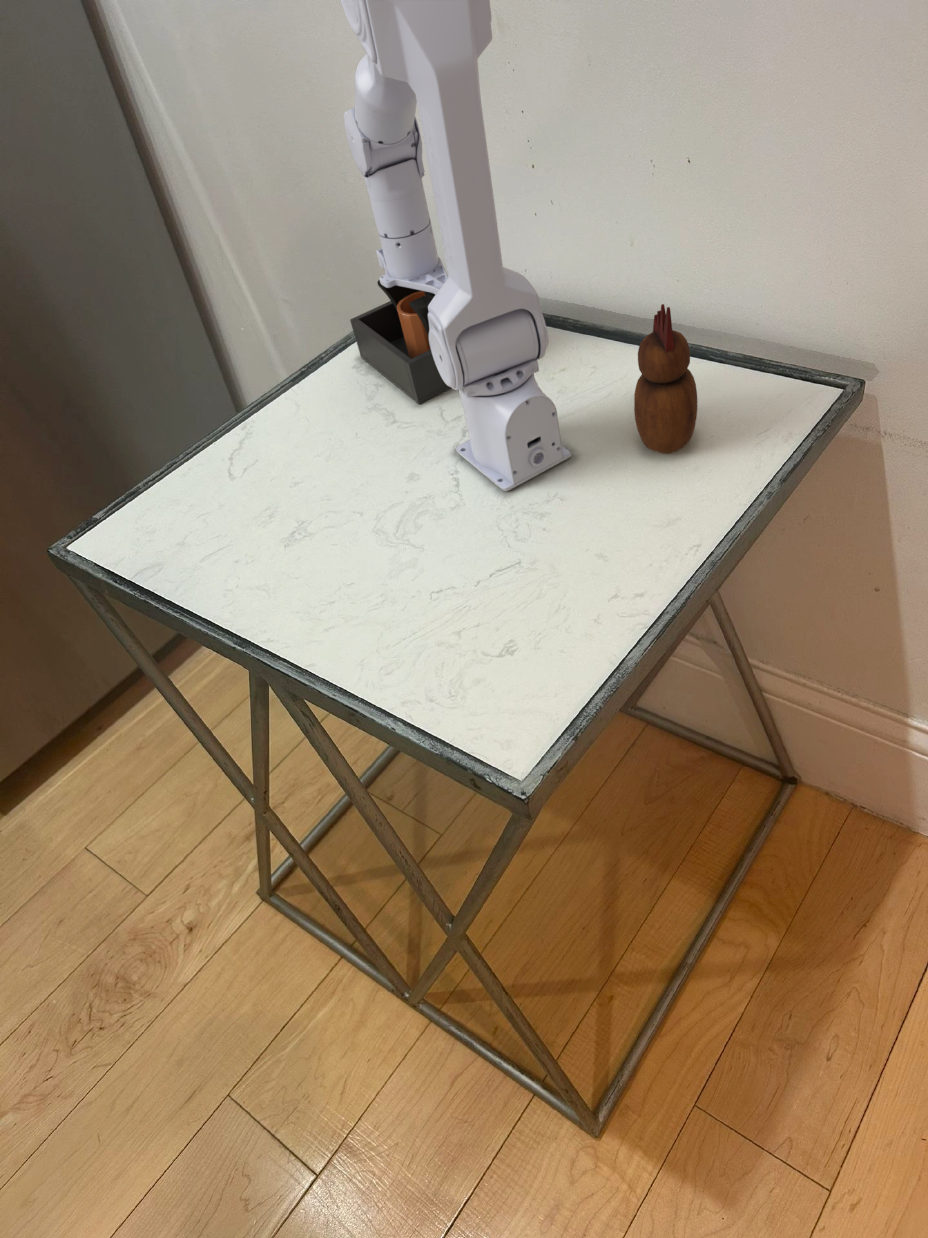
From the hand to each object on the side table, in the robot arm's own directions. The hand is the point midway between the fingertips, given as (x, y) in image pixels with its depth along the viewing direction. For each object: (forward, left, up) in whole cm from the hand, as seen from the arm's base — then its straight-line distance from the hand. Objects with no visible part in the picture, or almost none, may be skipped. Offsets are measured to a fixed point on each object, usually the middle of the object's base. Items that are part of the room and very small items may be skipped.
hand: (430, 341), depth 109 cm
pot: (0, 0, -2) cm, 2 cm away
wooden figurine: (-32, -8, -2) cm, 33 cm away
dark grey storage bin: (0, 0, -2) cm, 2 cm away
